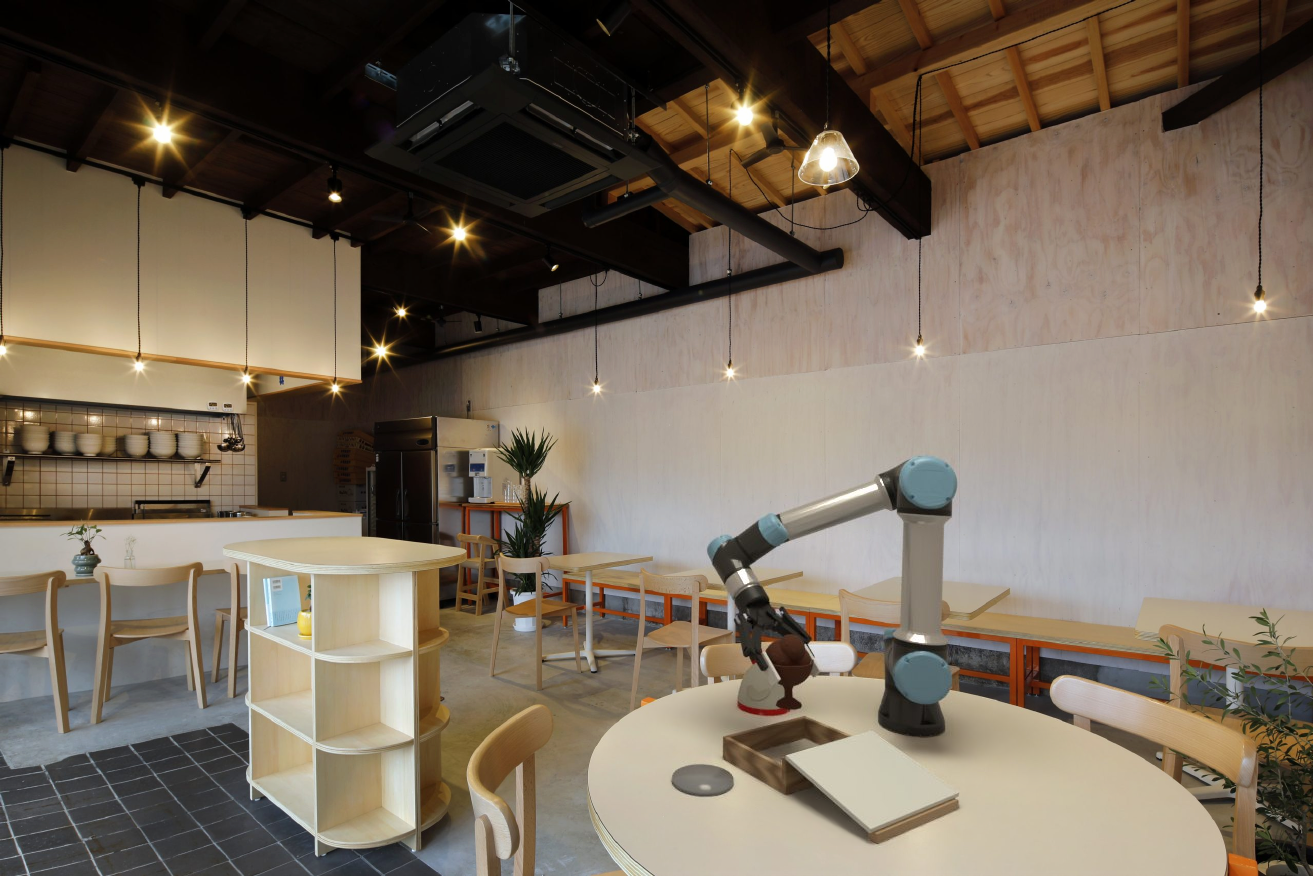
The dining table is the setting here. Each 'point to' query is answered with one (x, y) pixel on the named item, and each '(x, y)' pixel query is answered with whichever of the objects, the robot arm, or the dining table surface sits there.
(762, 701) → the kitchen timer
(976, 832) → the dining table surface
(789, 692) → the ice cream bowl
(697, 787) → the coaster
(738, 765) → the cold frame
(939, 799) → the lid
